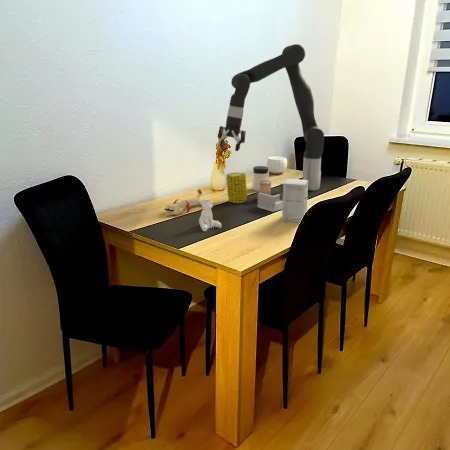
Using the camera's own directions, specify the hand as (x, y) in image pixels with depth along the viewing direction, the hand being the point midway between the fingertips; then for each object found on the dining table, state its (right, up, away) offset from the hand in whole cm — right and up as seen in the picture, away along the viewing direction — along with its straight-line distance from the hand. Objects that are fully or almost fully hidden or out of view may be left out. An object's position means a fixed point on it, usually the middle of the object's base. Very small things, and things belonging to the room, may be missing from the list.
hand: (229, 149), depth 226 cm
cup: (+30, -5, +59) cm, 66 cm away
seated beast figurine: (-9, -39, -38) cm, 55 cm away
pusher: (+28, -26, -5) cm, 38 cm away
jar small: (+18, -25, +2) cm, 31 cm away
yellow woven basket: (+4, -26, -1) cm, 26 cm away
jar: (+17, -18, +21) cm, 33 cm away
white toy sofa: (+23, -29, -9) cm, 38 cm away
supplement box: (+28, -35, -28) cm, 53 cm away
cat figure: (-21, -31, -15) cm, 40 cm away
